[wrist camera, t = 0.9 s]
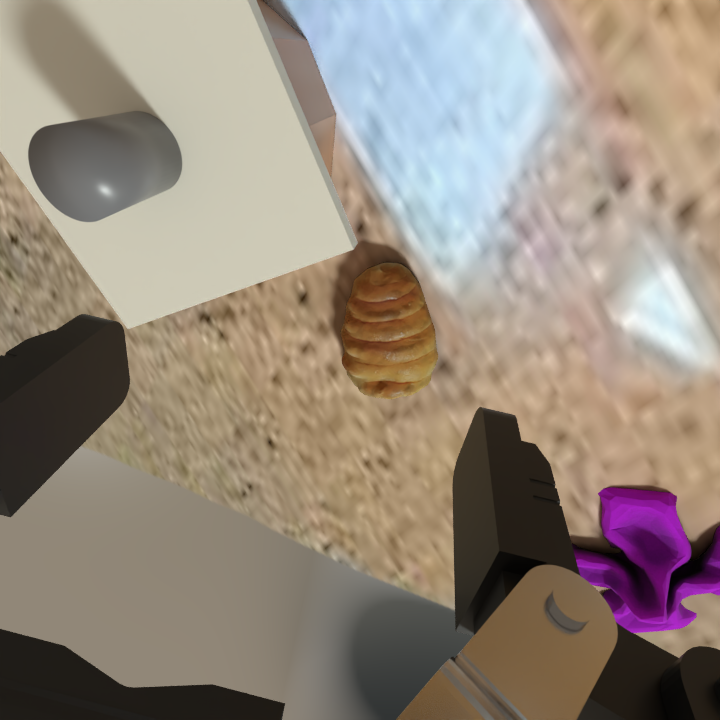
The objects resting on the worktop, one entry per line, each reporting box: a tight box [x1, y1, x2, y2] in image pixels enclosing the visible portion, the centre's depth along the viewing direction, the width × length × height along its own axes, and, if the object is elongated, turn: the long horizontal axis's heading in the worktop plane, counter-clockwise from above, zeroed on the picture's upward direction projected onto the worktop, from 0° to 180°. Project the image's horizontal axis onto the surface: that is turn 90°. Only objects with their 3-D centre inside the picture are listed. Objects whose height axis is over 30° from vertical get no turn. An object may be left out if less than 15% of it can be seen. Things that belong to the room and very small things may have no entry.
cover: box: [0, 0, 358, 329], centre depth 20 cm, size 15×15×6 cm
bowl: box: [256, 0, 336, 178], centre depth 25 cm, size 14×14×7 cm
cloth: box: [572, 487, 720, 633], centre depth 39 cm, size 22×19×6 cm
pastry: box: [340, 263, 438, 399], centre depth 32 cm, size 9×7×4 cm
